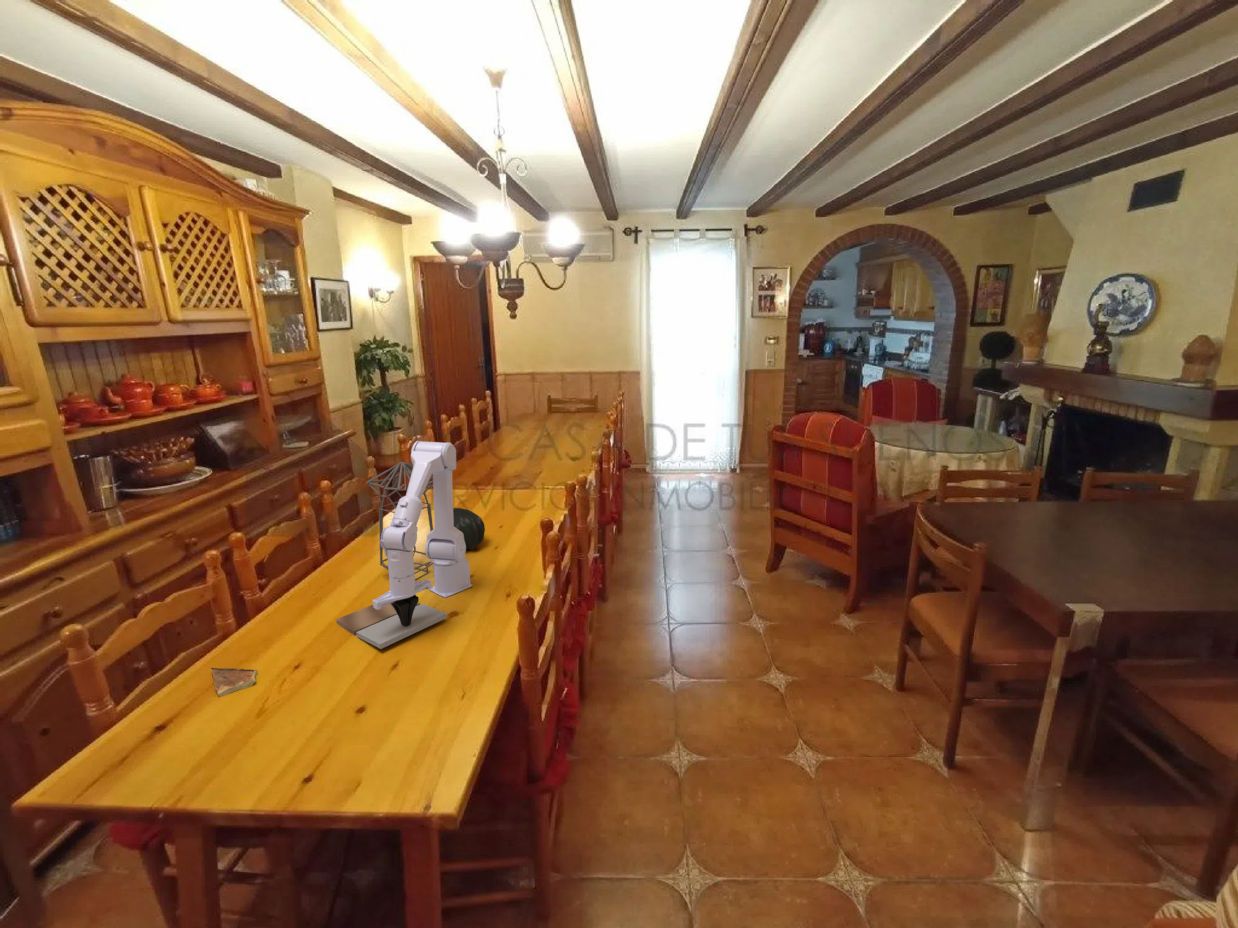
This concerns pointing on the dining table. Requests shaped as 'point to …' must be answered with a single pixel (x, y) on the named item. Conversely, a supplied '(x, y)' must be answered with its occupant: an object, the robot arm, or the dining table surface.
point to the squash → (469, 526)
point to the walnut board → (366, 618)
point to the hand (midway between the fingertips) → (405, 624)
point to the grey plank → (400, 626)
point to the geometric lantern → (385, 487)
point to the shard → (232, 679)
